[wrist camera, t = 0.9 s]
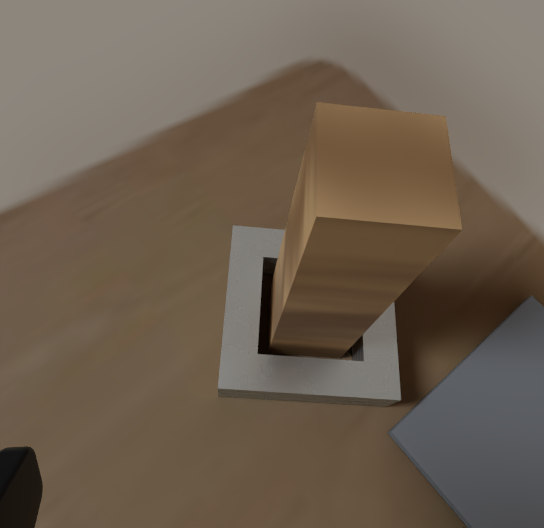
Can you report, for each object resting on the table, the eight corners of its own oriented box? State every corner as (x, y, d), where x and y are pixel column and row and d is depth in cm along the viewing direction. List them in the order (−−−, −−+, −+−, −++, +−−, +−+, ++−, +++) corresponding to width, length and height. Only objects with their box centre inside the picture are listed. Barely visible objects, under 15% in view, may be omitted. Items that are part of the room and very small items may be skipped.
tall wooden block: (340, 358, 23) (462, 229, 11) (267, 353, 23) (316, 216, 11) (339, 290, 25) (445, 116, 13) (271, 285, 24) (317, 102, 13)
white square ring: (386, 407, 22) (401, 400, 21) (218, 396, 22) (217, 388, 20) (378, 256, 26) (389, 239, 24) (232, 243, 25) (233, 225, 23)
